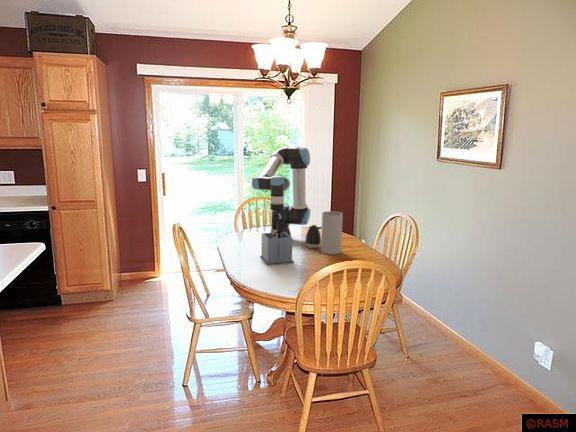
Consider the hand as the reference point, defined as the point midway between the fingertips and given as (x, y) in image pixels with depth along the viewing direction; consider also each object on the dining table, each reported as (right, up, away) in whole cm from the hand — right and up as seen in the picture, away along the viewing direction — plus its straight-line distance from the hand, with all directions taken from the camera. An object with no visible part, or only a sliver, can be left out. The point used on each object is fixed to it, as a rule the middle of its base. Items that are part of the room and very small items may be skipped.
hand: (276, 242), depth 240 cm
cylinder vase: (+34, -8, +20) cm, 40 cm away
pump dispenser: (+23, -6, +30) cm, 39 cm away
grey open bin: (0, -11, +2) cm, 11 cm away
